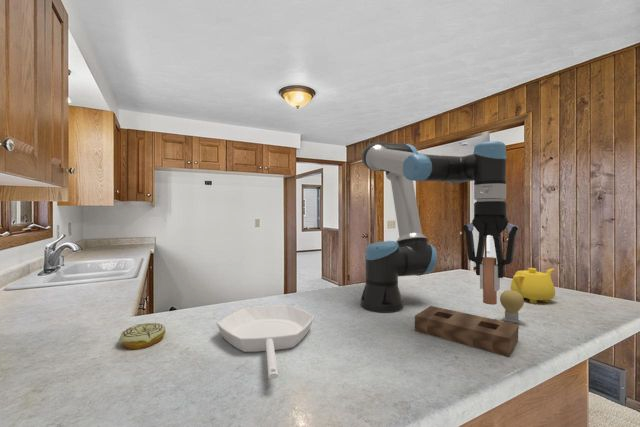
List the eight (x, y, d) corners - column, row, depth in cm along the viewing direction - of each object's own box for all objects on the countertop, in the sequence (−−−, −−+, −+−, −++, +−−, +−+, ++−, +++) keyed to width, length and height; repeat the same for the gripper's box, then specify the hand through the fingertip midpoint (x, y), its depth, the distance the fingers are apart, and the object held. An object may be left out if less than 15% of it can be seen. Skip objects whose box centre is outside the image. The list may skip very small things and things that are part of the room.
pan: (307, 316, 102) (307, 302, 102) (341, 386, 62) (341, 364, 62) (221, 322, 97) (221, 308, 97) (198, 403, 56) (197, 379, 56)
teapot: (570, 302, 118) (570, 270, 117) (529, 306, 112) (529, 273, 112) (536, 293, 130) (537, 264, 130) (499, 296, 125) (499, 266, 125)
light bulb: (527, 326, 93) (527, 293, 93) (504, 324, 95) (504, 292, 94) (518, 319, 100) (518, 288, 99) (496, 317, 101) (497, 287, 101)
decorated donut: (110, 351, 77) (110, 336, 77) (133, 334, 88) (133, 321, 88) (153, 350, 78) (153, 335, 78) (171, 333, 88) (171, 320, 88)
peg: (481, 303, 82) (481, 258, 82) (484, 300, 84) (484, 256, 84) (495, 305, 80) (495, 259, 80) (497, 302, 82) (497, 257, 82)
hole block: (414, 330, 90) (414, 315, 90) (430, 319, 99) (430, 305, 99) (509, 357, 74) (510, 338, 74) (518, 340, 83) (518, 324, 83)
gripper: (454, 201, 84) (454, 286, 84) (522, 199, 74) (522, 297, 74) (462, 201, 90) (462, 282, 90) (527, 200, 79) (527, 291, 80)
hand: (489, 288), depth 82 cm, fingers closed on peg, 3 cm apart
